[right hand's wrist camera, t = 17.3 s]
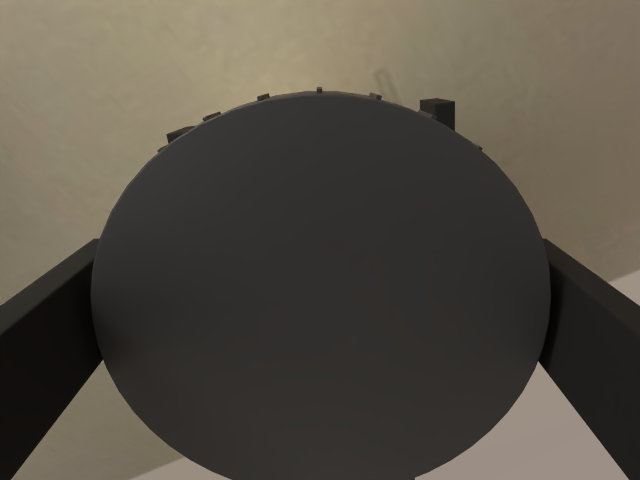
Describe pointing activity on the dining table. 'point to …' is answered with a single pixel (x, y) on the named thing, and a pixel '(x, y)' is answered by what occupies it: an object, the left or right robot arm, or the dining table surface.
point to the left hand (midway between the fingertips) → (309, 115)
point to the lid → (321, 291)
